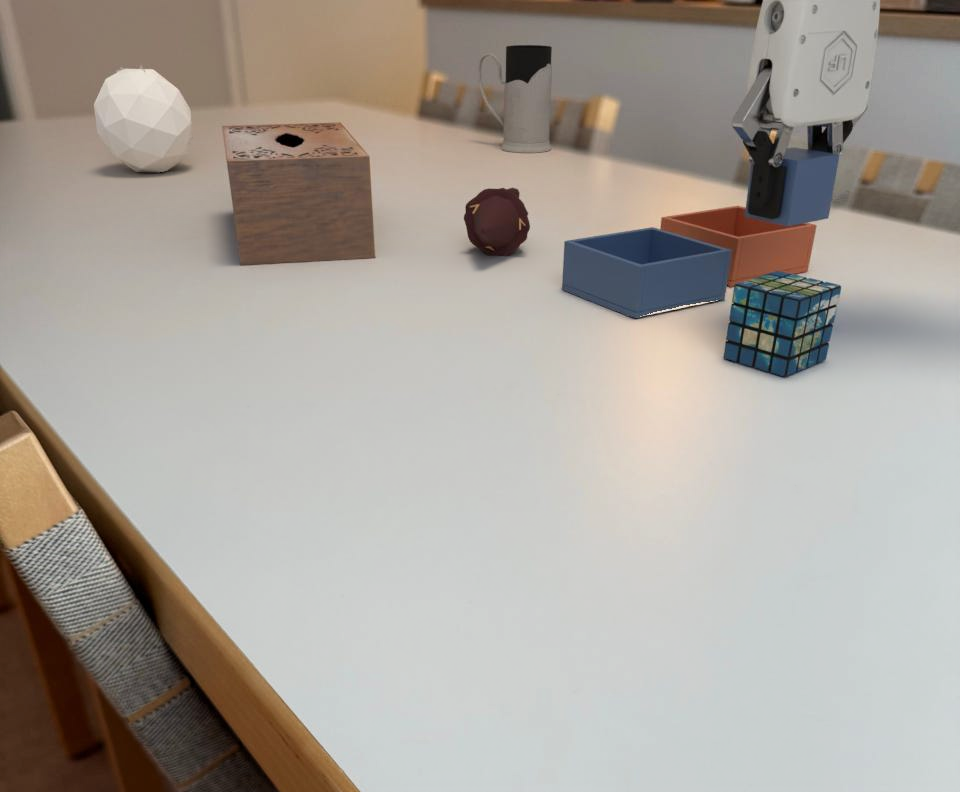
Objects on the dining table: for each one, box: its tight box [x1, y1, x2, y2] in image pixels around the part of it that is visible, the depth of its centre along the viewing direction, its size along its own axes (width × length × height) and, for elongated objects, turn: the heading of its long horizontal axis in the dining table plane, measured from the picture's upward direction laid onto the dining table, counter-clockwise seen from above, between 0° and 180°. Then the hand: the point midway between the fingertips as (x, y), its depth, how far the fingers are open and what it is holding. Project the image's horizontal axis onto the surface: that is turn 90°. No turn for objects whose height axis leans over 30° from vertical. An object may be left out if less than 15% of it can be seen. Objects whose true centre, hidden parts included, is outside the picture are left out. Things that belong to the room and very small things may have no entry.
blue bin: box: [561, 226, 732, 319], centre depth 92 cm, size 11×11×5 cm
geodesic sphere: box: [93, 63, 193, 173], centre depth 143 cm, size 15×14×14 cm
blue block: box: [745, 147, 840, 226], centre depth 82 cm, size 5×5×5 cm
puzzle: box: [723, 271, 842, 378], centre depth 77 cm, size 6×6×6 cm
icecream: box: [463, 187, 531, 257], centre depth 104 cm, size 7×7×15 cm
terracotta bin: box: [659, 205, 818, 288], centre depth 101 cm, size 11×11×5 cm
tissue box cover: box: [221, 122, 376, 266], centre depth 111 cm, size 26×14×10 cm, turn 13°
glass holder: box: [477, 44, 553, 154], centre depth 162 cm, size 9×14×15 cm, turn 57°
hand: (787, 209), depth 83 cm, fingers closed on blue block, 5 cm apart
